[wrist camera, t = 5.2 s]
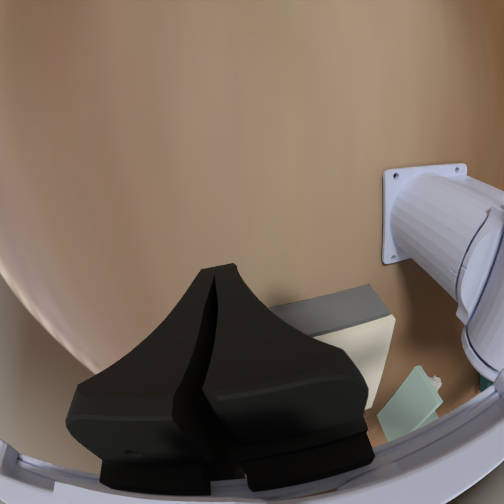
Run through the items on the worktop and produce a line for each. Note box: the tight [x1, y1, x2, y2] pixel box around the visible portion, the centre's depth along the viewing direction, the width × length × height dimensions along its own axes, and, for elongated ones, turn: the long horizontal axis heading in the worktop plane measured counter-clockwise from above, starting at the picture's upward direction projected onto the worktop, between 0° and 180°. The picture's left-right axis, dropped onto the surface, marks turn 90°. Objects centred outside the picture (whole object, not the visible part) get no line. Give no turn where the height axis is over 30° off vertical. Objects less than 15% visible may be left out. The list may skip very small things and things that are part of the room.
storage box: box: [268, 284, 390, 337], centre depth 25 cm, size 16×14×4 cm
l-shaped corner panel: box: [377, 366, 443, 442], centre depth 32 cm, size 12×12×8 cm
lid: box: [312, 315, 396, 410], centre depth 22 cm, size 16×14×1 cm
